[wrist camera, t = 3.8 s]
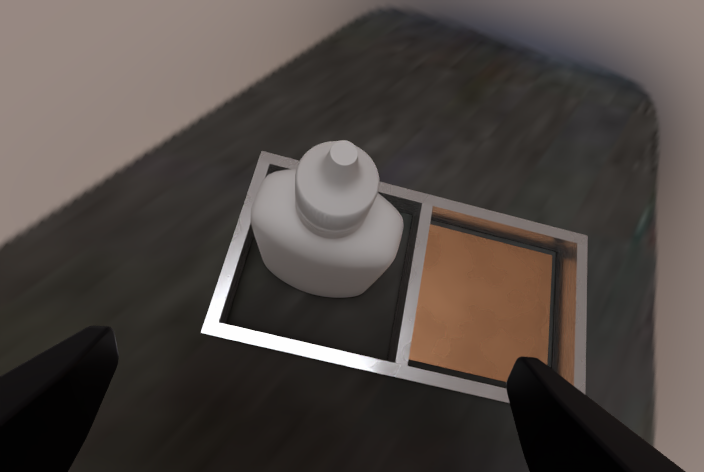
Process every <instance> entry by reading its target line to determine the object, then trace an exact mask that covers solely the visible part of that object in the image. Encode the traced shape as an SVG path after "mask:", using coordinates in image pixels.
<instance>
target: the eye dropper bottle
mask: <svg viewBox="0 0 704 472" xmlns="http://www.w3.org/2000/svg"><path fill="white" fill-rule="evenodd" d="M376 168H377V167H376V166H375V163H374V162H373V160H372V159H371V158H370V156H368V155H367V153H365V152H364V151H363V150H361V148H358V147H357V146H355V145H354V144H352V143H351V142H349V141H345V140H341V141H335V142H334V141H331V142H326V143H325V142H323V144H319V145H316V146H315V147H312V149H310V150H309V151H308V152H306V153H305V155H303V158H301V159H300V162H298V166H297V169H289V170H281V171H276V172H273V173H271V174H268V175H267V176H266V178H265V179H264V180H263V181H262V183H261V185H260V187H259V190H258V192H257V195H256V197H255V200H254V202H253V205H252V208H251V219H250V221H251V225H252V229H253V232H254V235H255V238H256V241H257V245H258V248H259V250H260V253H261V256H262V259H263V262H264V264H265V266H266V267H267V268H268V269H269V270H270V271H271V272H272V273H273V274H274V275H275V276H277V277H278V278H279V279H281V280H282V281H284V282H285V283H287V284H289V285H290V286H292V287H294V288H296V289H299V290H301V291H304V292H307V293H310V294H313V295H318V296H323V297H331V298H346V297H355V296H358V295H360V294H362V293H364V292H365V291H366V290H367V289H368V288H369V287H370V286H371V285H372V284H373V283H374V282H375V281H376V280H377V279H378V278H379V277H380V276H381V275H382V274H383V273H384V272H385V271H386V270H387V268H388V267H389V266H390V265H391V263H392V262H393V260H394V259H395V257H396V254H397V251H398V248H399V244H400V240H401V236H402V231H403V218H402V216H401V215H400V213H399V211H398V210H397V209H396V208H395V207H394V206H393V205H392V204H391V203H390V202H388V201H387V200H386V199H385V198H384V197H382V196H381V195H380V194H379V193H378V191H379V190H378V189H379V184H380V182H379V180H380V178H379V174H378V170H377V169H376Z"/></svg>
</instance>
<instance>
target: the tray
mask: <svg viewBox="0 0 704 472" xmlns="http://www.w3.org/2000/svg"><path fill="white" fill-rule="evenodd" d="M298 162H300V161H298V160H294V159H291V158H287V157H283V156H279V155H275V154H271V153H268V152H264V151H261V154H260V157H259V160H258V163H257V166H256V169H255V172H254V175H253V178H252V181H251V184H250V187H249V190H248V193H247V196H246V199H245V202H244V205H243V208H242V211H241V214H240V217H239V220H238V223H237V226H236V229H235V232H234V235H233V238H232V241H231V244H230V247H229V250H228V253H227V256H226V259H225V262H224V265H223V268H222V271H221V274H220V277H219V280H218V283H217V286H216V289H215V292H214V295H213V298H212V301H211V304H210V307H209V310H208V313H207V316H206V319H205V322H204V325H203V328H202V331H201V333H204V334H208V335H212V336H217V337H221V338H225V339H230V340H234V341H238V342H243V343H247V344H252V345H256V346H260V347H265V348H269V349H274V350H278V351H282V352H287V353H291V354H296V355H300V356H304V357H309V358H313V359H318V360H322V361H326V362H331V363H335V364H339V365H344V366H348V367H353V368H357V369H361V370H366V371H370V372H375V373H379V374H383V375H388V376H392V377H397V378H401V379H405V380H410V381H414V382H419V383H423V384H427V385H432V386H436V387H440V388H445V389H449V390H454V391H458V392H462V393H467V394H471V395H476V396H480V397H484V398H489V399H493V400H498V401H502V402H506V403H510V402H509V398H508V395H507V390H506V389H505V388H501V387H497V386H492V385H488V384H484V383H479V382H475V381H471V380H466V379H462V378H458V377H453V376H449V375H445V374H440V373H436V372H432V371H427V370H423V369H418V368H414V367H410V366H408V359H409V360H413V361H418V362H422V363H426V364H430V365H435V366H439V367H443V368H448V369H452V370H456V371H461V372H465V373H469V374H474V375H478V376H482V377H487V378H491V379H495V380H500V381H504V382H507V379H508V377H509V374H510V372H511V370H512V368H513V366H514V364H515V361H516V360H517V358H519V357H521V356H525V357H535V358H538V359H539V360H541V361H542V362H543V363H545V364H546V365H547V359H548V337H549V315H550V293H551V271H552V255H548V254H544V253H541V252H537V251H533V250H529V249H525V248H521V247H517V246H513V245H509V244H505V243H501V242H497V241H494V240H490V239H486V238H482V237H478V236H474V235H470V234H466V233H462V232H458V231H454V230H451V229H447V228H443V227H439V226H435V225H431V224H430V221H431V220H435V221H439V222H443V223H447V224H451V225H455V226H459V227H462V228H466V229H470V230H474V231H478V232H482V233H486V234H490V235H494V236H498V237H501V238H505V239H509V240H513V241H517V242H521V243H525V244H529V245H533V246H537V247H540V248H544V249H548V250H552V251H556V252H557V255H556V279H555V303H554V327H553V351H552V369H553V370H554V371H555V372H556V373H558V374H559V375H560V376H562V377H563V378H564V379H566V380H567V381H568V382H569V383H571V384H572V385H573V386H575V387H576V388H577V389H579V390H580V391H581V392H582V393H584V394H585V376H586V306H587V237H588V236H586V235H582V234H578V233H575V232H571V231H567V230H563V229H559V228H555V227H552V226H548V225H544V224H540V223H536V222H532V221H529V220H525V219H521V218H517V217H513V216H509V215H506V214H502V213H498V212H494V211H490V210H486V209H483V208H479V207H475V206H471V205H467V204H463V203H459V202H456V201H452V200H448V199H444V198H440V197H436V196H433V195H429V194H425V193H421V192H417V191H413V190H410V189H406V188H402V187H398V186H394V185H390V184H387V183H383V182H380V184H379V189H378V190H379V191H378V193H379V194H380V195H381V196H382V197H384V198H385V199H386V200H387V201H388V202H390V203H391V204H392V205H393V206H394V207H395V208H396V209H397V210H398V211H400V212H404V213H408V214H412V215H413V216H412V222H411V227H410V233H409V239H408V244H407V250H406V256H405V262H404V267H403V273H402V279H401V284H400V290H399V296H398V301H397V307H396V313H395V318H394V324H393V330H392V336H391V341H390V347H389V353H388V358H387V361H384V360H379V359H375V358H371V357H366V356H362V355H358V354H353V353H349V352H345V351H340V350H336V349H332V348H327V347H323V346H319V345H314V344H310V343H306V342H301V341H297V340H292V339H288V338H284V337H279V336H275V335H271V334H266V333H262V332H258V331H253V330H249V329H245V328H240V327H236V326H232V325H227V324H226V321H227V318H228V315H229V312H230V309H231V306H232V302H233V299H234V296H235V293H236V290H237V287H238V283H239V280H240V277H241V274H242V271H243V268H244V265H245V261H246V258H247V255H248V252H249V249H250V246H251V242H252V239H253V236H254V232H253V229H252V225H251V221H250V219H251V208H252V205H253V202H254V200H255V197H256V195H257V192H258V190H259V187H260V185H261V183H262V181H263V180H264V179H265V178H266V176H267V175H268V174H271V173H273V172H276V171H281V170H289V169H297V166H298Z"/></svg>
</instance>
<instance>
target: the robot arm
mask: <svg viewBox="0 0 704 472" xmlns="http://www.w3.org/2000/svg"><path fill="white" fill-rule="evenodd" d="M118 359H119V355H118V349H117V344H116V339H115V333H114V330H113V329H112V328H111V327H106V326H89V327H87V328H85V329H83V330H81V331H80V332H78V333H76V334H74V335H72V336H71V337H69V338H67V339H65V340H64V341H62V342H60V343H58V344H57V345H55V346H53V347H51V348H49V349H48V350H46V351H44V352H42V353H41V354H39V355H37V356H35V357H34V358H32V359H30V360H28V361H26V362H25V363H23V364H21V365H19V366H18V367H16V368H14V369H12V370H11V371H9V372H7V373H5V374H3V375H2V376H0V472H68V470H69V469H70V467H71V465H72V463H73V461H74V460H75V458H76V456H77V454H78V452H79V451H80V449H81V447H82V445H83V443H84V441H85V439H86V437H87V435H88V433H89V431H90V428H91V426H92V424H93V422H94V419H95V417H96V415H97V412H98V410H99V407H100V405H101V403H102V400H103V398H104V396H105V393H106V391H107V389H108V386H109V384H110V382H111V379H112V377H113V375H114V372H115V370H116V368H117V364H118ZM506 390H507V395H508V398H509V402H510V406H511V410H512V413H513V417H514V421H515V425H516V428H517V432H518V436H519V440H520V443H521V447H522V450H523V454H524V457H525V460H526V463H527V465H528V468H529V471H530V472H685V471H684V470H683V469H681V468H680V467H679V466H677V465H676V464H675V463H674V462H672V461H670V459H668V458H667V457H666V456H664V455H663V454H662V453H661V452H659V451H658V450H657V449H655V448H654V447H653V446H651V445H650V444H649V443H648V442H646V441H645V440H644V439H642V438H641V437H640V436H638V435H637V434H636V433H635V432H633V431H632V430H631V429H629V428H628V427H627V426H625V425H624V424H623V423H622V422H620V421H619V420H618V419H616V418H615V417H614V416H612V415H611V414H610V413H609V412H607V411H606V410H605V409H603V408H602V407H601V406H599V405H598V404H597V403H595V402H594V401H593V400H592V399H590V398H589V397H588V396H586V395H585V394H584V393H582V392H581V391H580V390H579V389H577V388H576V387H575V386H573V385H572V384H571V383H569V382H568V381H567V380H566V379H564V378H563V377H562V376H560V375H559V374H558V373H556V372H555V371H554V370H553V369H551V368H550V367H549V366H547V365H546V364H545V363H543V362H542V361H541V360H539V359H538V358H535V357H525V356H521V357H519V358H517V360H516V361H515V364H514V366H513V368H512V370H511V372H510V374H509V377H508V379H507V382H506Z"/></svg>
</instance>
